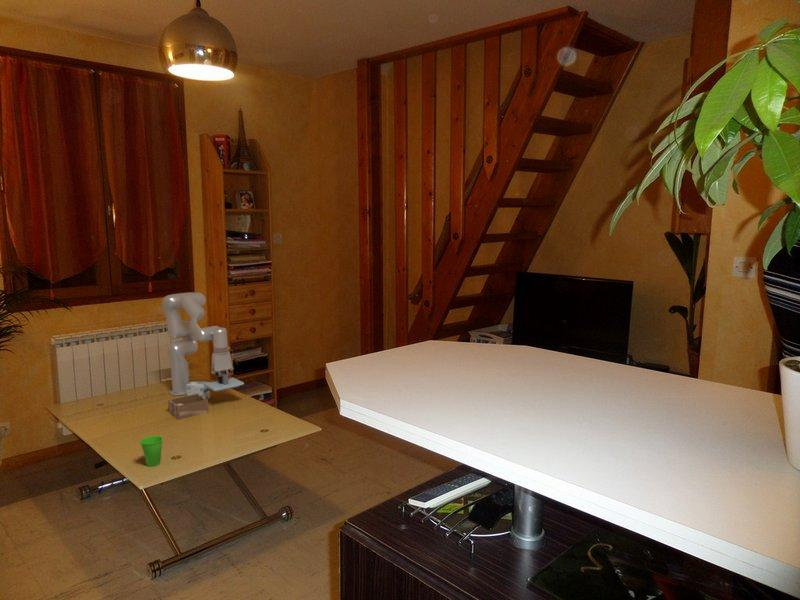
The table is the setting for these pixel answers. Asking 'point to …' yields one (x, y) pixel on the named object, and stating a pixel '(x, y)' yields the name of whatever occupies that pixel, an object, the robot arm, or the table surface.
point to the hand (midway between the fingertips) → (223, 382)
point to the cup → (152, 449)
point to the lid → (223, 383)
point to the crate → (188, 406)
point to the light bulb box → (198, 389)
